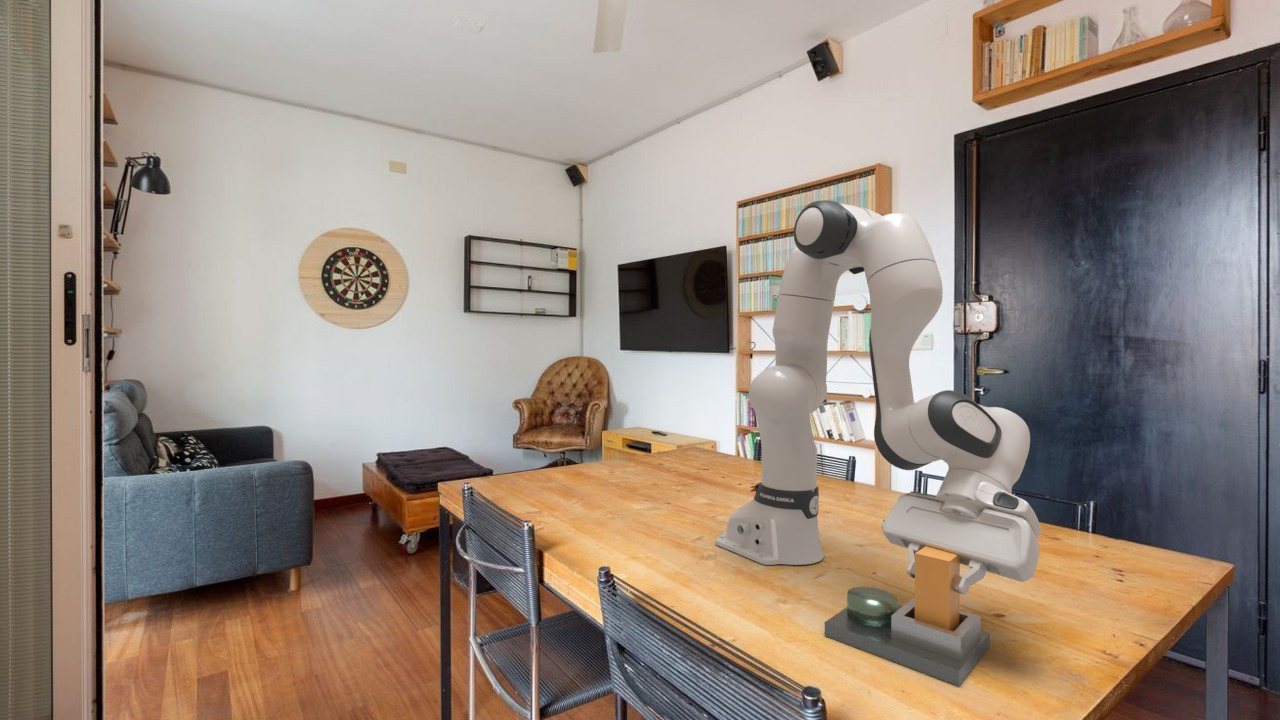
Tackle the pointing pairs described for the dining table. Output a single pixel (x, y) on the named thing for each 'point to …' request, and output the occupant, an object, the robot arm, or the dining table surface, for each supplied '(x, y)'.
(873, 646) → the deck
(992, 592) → the dining table surface
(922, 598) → the tall orange prism
